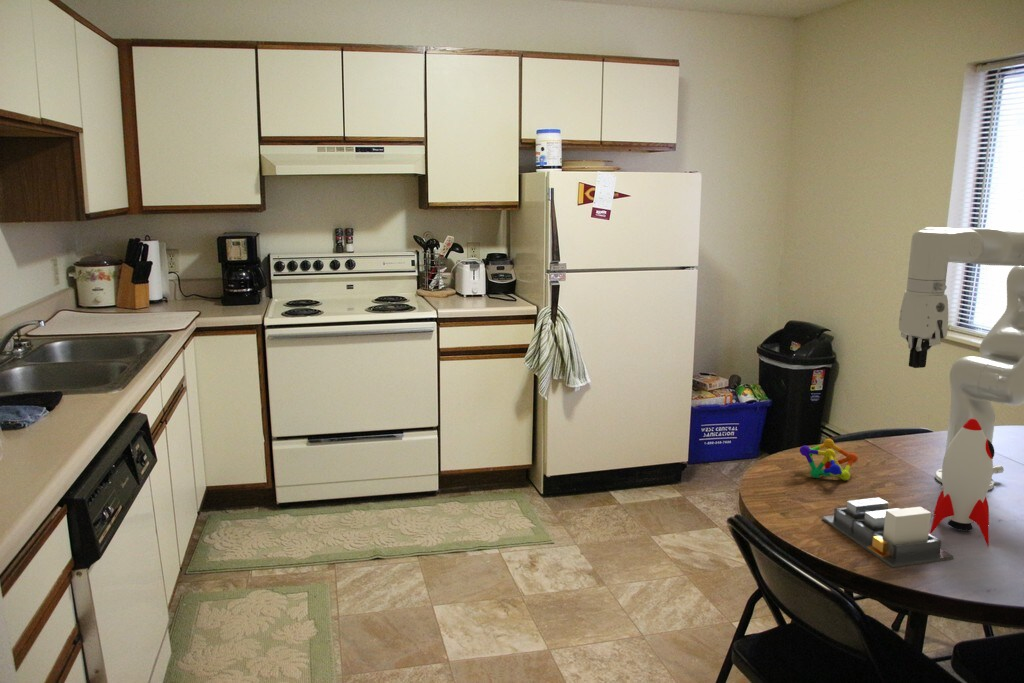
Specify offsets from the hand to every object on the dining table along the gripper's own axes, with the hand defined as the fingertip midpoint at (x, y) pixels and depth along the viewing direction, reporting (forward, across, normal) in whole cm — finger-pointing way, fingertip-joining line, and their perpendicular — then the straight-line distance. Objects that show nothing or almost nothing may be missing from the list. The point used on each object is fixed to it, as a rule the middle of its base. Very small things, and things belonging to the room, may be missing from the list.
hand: (917, 366), depth 171 cm
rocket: (+32, -17, 0) cm, 36 cm away
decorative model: (+32, +17, +8) cm, 37 cm away
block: (+32, -22, +18) cm, 42 cm away
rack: (+32, -16, +18) cm, 40 cm away
